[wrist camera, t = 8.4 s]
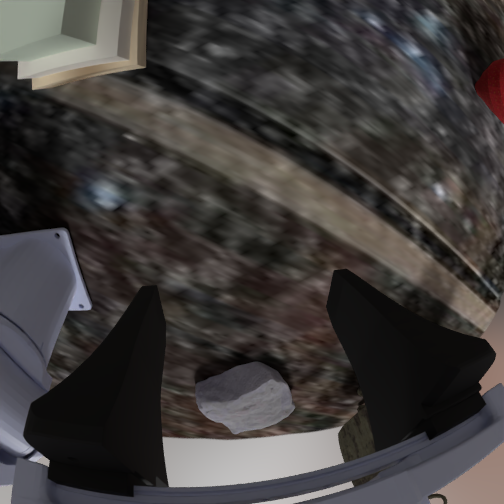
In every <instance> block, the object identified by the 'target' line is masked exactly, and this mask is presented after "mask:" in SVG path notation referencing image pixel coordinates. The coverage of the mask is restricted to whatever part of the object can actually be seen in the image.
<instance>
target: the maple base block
mask: <svg viewBox="0 0 504 504" xmlns="http://www.w3.org/2000/svg"><path fill="white" fill-rule="evenodd" d="M147 5H148V0H135V4H134V12H133V21H132V31H131V43H130V58H129V60H128V61H119V62H112V63H105V64H99V65H93V66H88V67H82V68H77V69H73V70H68V71H64V72H59V73H55V74H51V75H47V76H44V77H40V78H32V90H36V89H45V88H52V87H56V86H59V85H63V84H66V83H70V82H74V81H78V80H82V79H86V78H90V77H95V76H99V75H104V74H109V73H115V72H120V71H126V70H132V69H139V68H146V27H147Z"/></svg>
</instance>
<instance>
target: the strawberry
mask: <svg viewBox="0 0 504 504" xmlns="http://www.w3.org/2000/svg"><path fill="white" fill-rule="evenodd" d="M475 90H476V92H477V94H478V95H479V96H480V97H481V98H482V99H483V101H484V102H485V103H486V105H487V106H488V107H489V109H490V110H491V111H492V112H493V113H494V114H495V115H496V116H497V117H498V118H499V119H500V121H501V122H502V123H503V124H504V59H500V60H496V61H494V62H492V63H491V64H490V66H489V67H488V68H487V69H486V70H485V71H484V72H483V73H482V75H481V77H480V79H479V80H478V81H477V82H476V84H475Z"/></svg>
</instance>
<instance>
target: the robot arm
mask: <svg viewBox="0 0 504 504" xmlns="http://www.w3.org/2000/svg"><path fill="white" fill-rule="evenodd" d="M56 233H58V234H59V235H60V237H59V236H57V234H56ZM81 304H82V305H81ZM91 307H92V303H91V300H90V297H89V295H88V292H87V289H86V286H85V283H84V280H83V277H82V274H81V271H80V268H79V265H78V262H77V259H76V255H75V252H74V249H73V245H72V242H71V238H70V234H69V231H68V230H67V229H66V228H55V229H46V230H38V231H30V232H22V233H14V234H7V235H0V486H8V485H13V488H12V498H11V504H252V503H259V502H265V501H272V500H278V499H283V498H288V497H293V496H298V495H302V494H306V493H311V492H315V491H319V490H323V489H326V488H330V487H334V486H337V485H340V484H343V483H347V482H350V481H353V480H356V479H359V478H362V477H365V476H367V475H370V474H373V473H375V472H378V471H381V470H383V469H385V470H383V471H381V472H379V473H378V475H377V476H376V477H374V478H373V479H372V480H370V481H368V482H367V483H365V484H362V485H359V486H356V487H353V488H350V489H346V490H343V491H340V492H337V493H333V494H330V495H326V496H322V497H319V498H315V499H311V500H307V501H303V502H299V503H295V504H430V501H429V499H428V496H429V495H431V494H433V493H434V492H436V491H438V490H439V489H441V488H442V487H444V486H446V485H447V484H449V483H450V482H452V481H453V480H455V479H456V478H458V477H459V476H461V475H462V474H464V473H465V472H466V471H468V470H469V469H471V468H472V467H473V466H475V465H476V464H477V463H479V462H480V461H481V460H482V459H484V458H485V457H486V456H487V455H489V454H490V453H491V452H492V451H493V450H495V449H496V448H497V447H498V446H499V445H500V444H502V443H503V442H504V387H503V385H502V384H501V383H499V384H498V385H496V386H495V387H493V388H492V389H490V390H489V391H487V392H486V393H485V394H484V395H483V396H481V395H480V393H479V391H480V390H481V385H480V384H479V381H480V380H481V378H482V377H483V376H484V374H485V373H486V372H487V371H488V369H489V368H490V367H491V365H492V364H493V362H494V360H495V357H496V353H495V351H494V350H493V348H492V347H491V346H490V344H489V343H488V342H487V341H486V340H485V339H481V338H477V337H473V336H469V335H465V334H462V333H459V332H456V331H453V330H450V329H447V328H445V327H442V326H440V325H438V324H435V323H433V322H431V321H428V320H426V319H424V318H422V317H420V316H419V315H417V314H415V313H413V312H411V311H409V310H408V309H406V308H404V307H402V306H401V305H399V304H398V303H396V302H395V301H393V300H391V299H390V298H388V297H387V296H385V295H384V294H382V293H381V292H380V291H378V290H377V289H375V288H374V287H372V286H371V285H370V284H368V283H367V282H365V281H364V280H363V279H361V278H360V277H358V276H357V275H355V274H354V273H352V272H351V271H349V270H348V269H341V270H334V272H333V277H332V282H331V287H330V292H329V296H328V301H327V305H326V308H327V311H328V314H329V317H330V320H331V323H332V326H333V328H334V330H335V332H336V334H337V336H338V338H339V340H340V342H341V344H342V346H343V348H344V350H345V352H346V355H347V357H348V359H349V361H350V363H351V365H352V367H353V369H354V371H355V374H356V376H357V379H358V382H359V385H360V388H361V391H362V395H363V398H364V401H365V405H366V408H367V412H368V416H369V420H370V425H371V429H372V435H373V440H374V446H375V453H373V454H370V455H367V456H364V457H361V458H358V459H355V460H352V461H349V462H346V463H342V464H339V465H336V466H332V467H328V468H324V469H321V470H317V471H313V472H309V473H304V474H299V475H295V476H290V477H285V478H279V479H274V480H268V481H261V482H254V483H247V484H237V485H226V486H212V487H175V488H174V487H169V486H168V480H167V473H166V467H165V459H164V450H163V441H162V426H161V403H160V399H161V384H162V374H163V365H164V356H165V347H166V322H165V318H164V314H163V309H162V305H161V301H160V297H159V292H158V288H157V285H154V286H142V287H141V288H140V290H139V291H138V293H137V294H136V296H135V297H134V299H133V300H132V302H131V303H130V305H129V306H128V308H127V310H126V311H125V312H124V314H123V315H122V317H121V318H120V320H119V321H118V322H117V324H116V325H115V327H114V328H113V329H112V330H111V332H110V333H109V334H108V336H107V337H106V338H105V340H104V341H103V342H102V343H101V344H100V346H99V347H98V348H97V349H96V350H95V351H94V352H93V353H92V355H91V356H90V357H89V358H88V359H87V360H86V361H84V362H83V363H82V364H81V365H80V366H79V367H78V368H77V369H76V370H75V371H74V372H73V373H72V374H70V375H69V376H68V377H67V378H66V379H64V380H63V381H62V382H61V383H59V384H58V385H57V386H55V387H54V388H53V389H51V390H50V391H49V389H50V386H51V382H52V377H51V376H50V375H49V374H48V372H47V371H46V368H47V365H48V362H49V359H50V356H51V354H52V351H53V348H54V345H55V343H56V340H57V337H58V335H59V332H60V330H61V327H62V325H63V322H64V320H65V317H66V315H67V312H68V310H90V309H91ZM42 456H45V457H46V458H48V459H49V460H50V463H49V467H47V466H45V465H43V464H40V463H37V462H36V461H37V460H39V459H40V458H41V457H42ZM390 466H391V467H390ZM388 467H389V468H388ZM386 468H387V469H386Z"/></svg>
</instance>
